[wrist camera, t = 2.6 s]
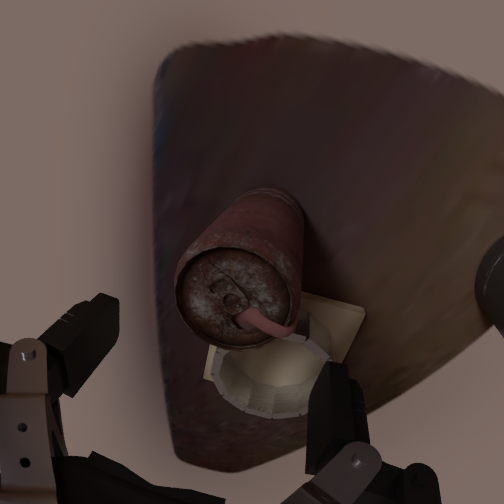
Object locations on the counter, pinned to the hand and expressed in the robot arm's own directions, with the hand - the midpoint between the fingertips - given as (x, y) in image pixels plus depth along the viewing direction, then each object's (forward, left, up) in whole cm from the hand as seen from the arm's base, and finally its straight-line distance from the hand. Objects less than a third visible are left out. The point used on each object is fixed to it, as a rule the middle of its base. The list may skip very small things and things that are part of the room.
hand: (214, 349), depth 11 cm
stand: (-4, +12, -17) cm, 21 cm away
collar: (-4, +12, -16) cm, 20 cm away
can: (0, 0, -17) cm, 17 cm away
